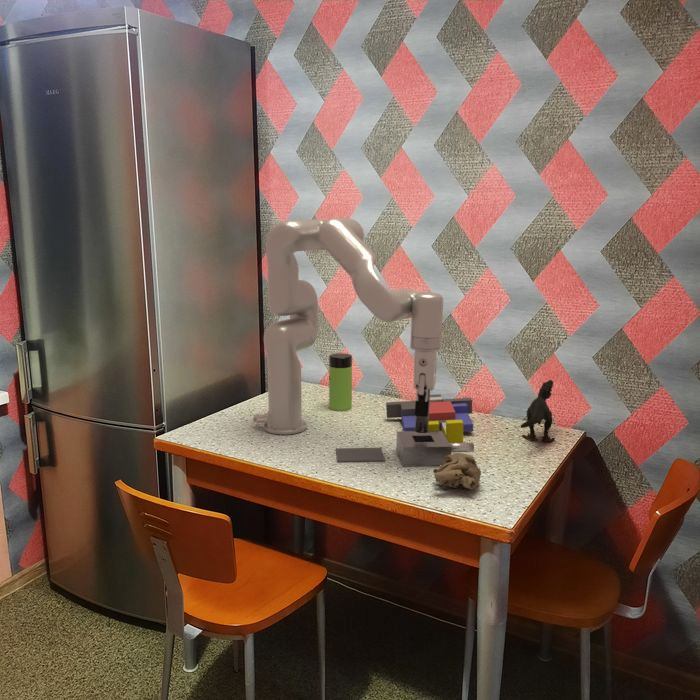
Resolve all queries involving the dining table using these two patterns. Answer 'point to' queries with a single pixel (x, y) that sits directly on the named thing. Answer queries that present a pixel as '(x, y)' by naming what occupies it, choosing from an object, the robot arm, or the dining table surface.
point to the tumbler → (340, 381)
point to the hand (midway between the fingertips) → (422, 412)
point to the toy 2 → (540, 413)
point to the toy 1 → (437, 416)
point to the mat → (360, 455)
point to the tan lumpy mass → (458, 471)
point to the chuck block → (426, 448)
